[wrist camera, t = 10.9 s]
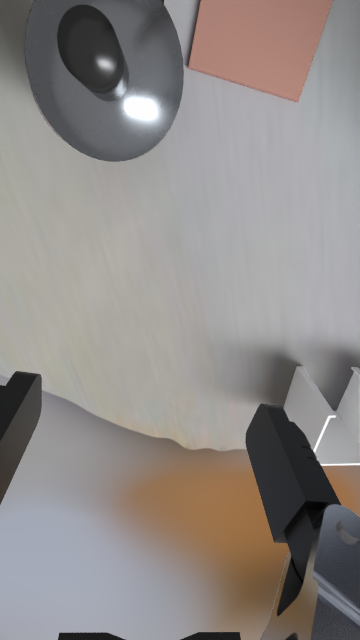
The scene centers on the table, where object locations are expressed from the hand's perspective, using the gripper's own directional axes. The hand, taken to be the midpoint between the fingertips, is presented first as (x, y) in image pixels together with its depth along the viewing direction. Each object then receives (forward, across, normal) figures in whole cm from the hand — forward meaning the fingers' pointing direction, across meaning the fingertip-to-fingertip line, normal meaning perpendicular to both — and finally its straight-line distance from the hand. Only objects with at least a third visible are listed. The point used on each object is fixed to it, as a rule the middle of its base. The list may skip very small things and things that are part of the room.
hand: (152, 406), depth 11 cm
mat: (+30, -6, -22) cm, 38 cm away
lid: (+20, +6, -12) cm, 24 cm away
